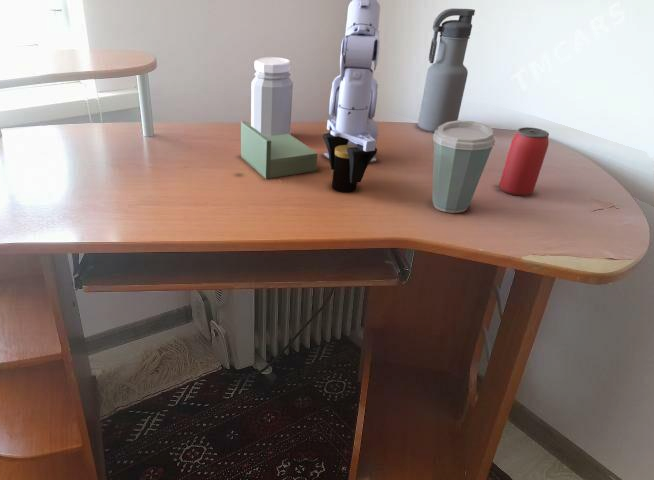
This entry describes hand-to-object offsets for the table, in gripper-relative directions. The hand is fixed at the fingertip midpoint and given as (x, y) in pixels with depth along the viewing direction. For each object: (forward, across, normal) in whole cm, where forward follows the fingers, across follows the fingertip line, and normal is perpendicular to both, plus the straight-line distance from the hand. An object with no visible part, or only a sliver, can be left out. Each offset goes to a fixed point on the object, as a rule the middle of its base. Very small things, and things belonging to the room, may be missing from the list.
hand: (345, 175), depth 109 cm
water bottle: (+3, -26, +44) cm, 51 cm away
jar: (+3, -34, -1) cm, 34 cm away
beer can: (+3, +14, +32) cm, 35 cm away
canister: (+3, 0, 0) cm, 3 cm away
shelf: (+3, -17, -7) cm, 19 cm away
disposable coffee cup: (+3, +15, +14) cm, 21 cm away
